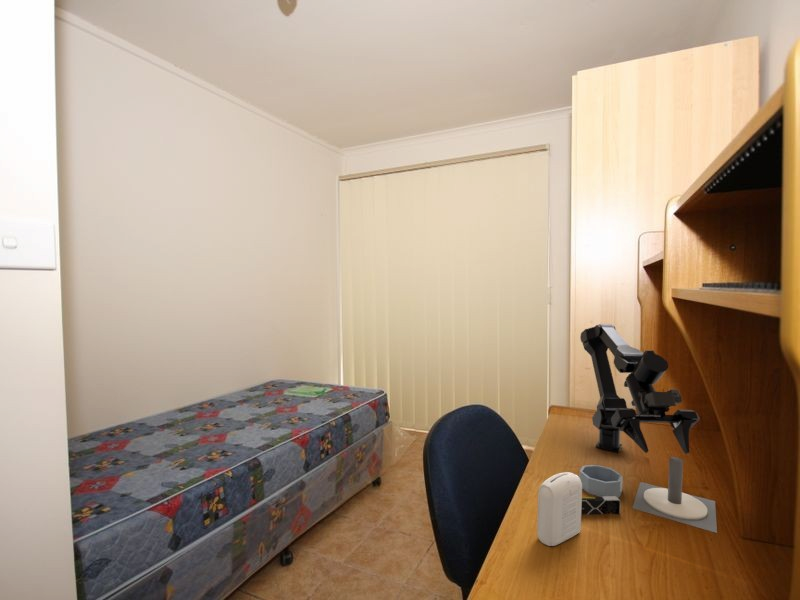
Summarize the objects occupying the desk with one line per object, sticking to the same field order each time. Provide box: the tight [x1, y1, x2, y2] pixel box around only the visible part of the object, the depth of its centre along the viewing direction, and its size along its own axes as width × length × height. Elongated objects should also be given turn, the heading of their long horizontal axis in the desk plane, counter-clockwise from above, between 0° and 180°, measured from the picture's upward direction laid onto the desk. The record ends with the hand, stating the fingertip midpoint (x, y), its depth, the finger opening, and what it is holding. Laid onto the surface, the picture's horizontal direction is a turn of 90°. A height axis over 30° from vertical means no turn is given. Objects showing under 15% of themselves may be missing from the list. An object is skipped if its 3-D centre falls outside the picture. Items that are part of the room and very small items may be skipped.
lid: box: [644, 456, 707, 520], centre depth 93 cm, size 12×12×10 cm
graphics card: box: [581, 496, 622, 515], centre depth 89 cm, size 12×3×5 cm, turn 93°
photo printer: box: [536, 471, 583, 547], centre depth 82 cm, size 10×4×12 cm, turn 123°
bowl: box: [578, 464, 624, 498], centre depth 100 cm, size 9×9×4 cm
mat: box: [632, 481, 718, 534], centre depth 93 cm, size 15×15×1 cm
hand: (667, 452), depth 96 cm, fingers open, 9 cm apart
